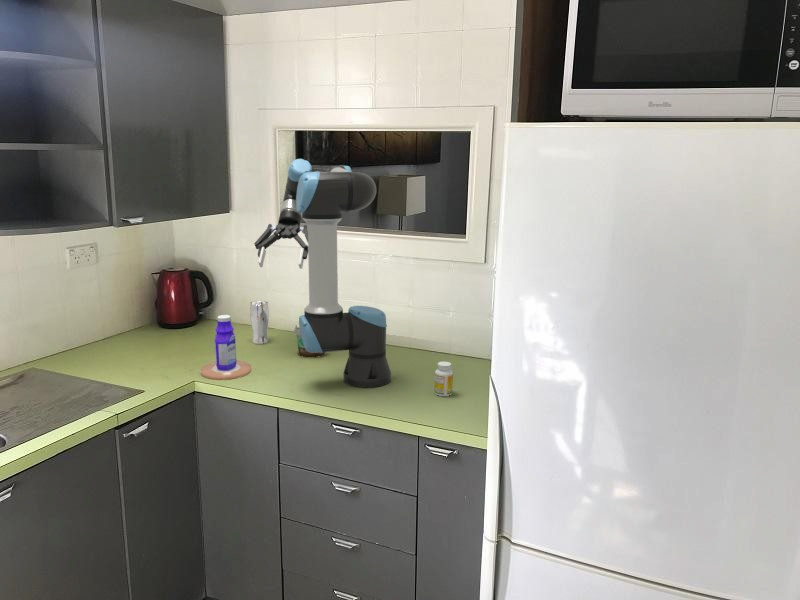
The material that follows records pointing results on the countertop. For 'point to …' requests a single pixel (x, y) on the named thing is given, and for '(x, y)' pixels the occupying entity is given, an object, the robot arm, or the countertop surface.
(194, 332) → the countertop surface
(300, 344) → the food container
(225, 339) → the bottle
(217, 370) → the plate
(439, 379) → the supplement bottle
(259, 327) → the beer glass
